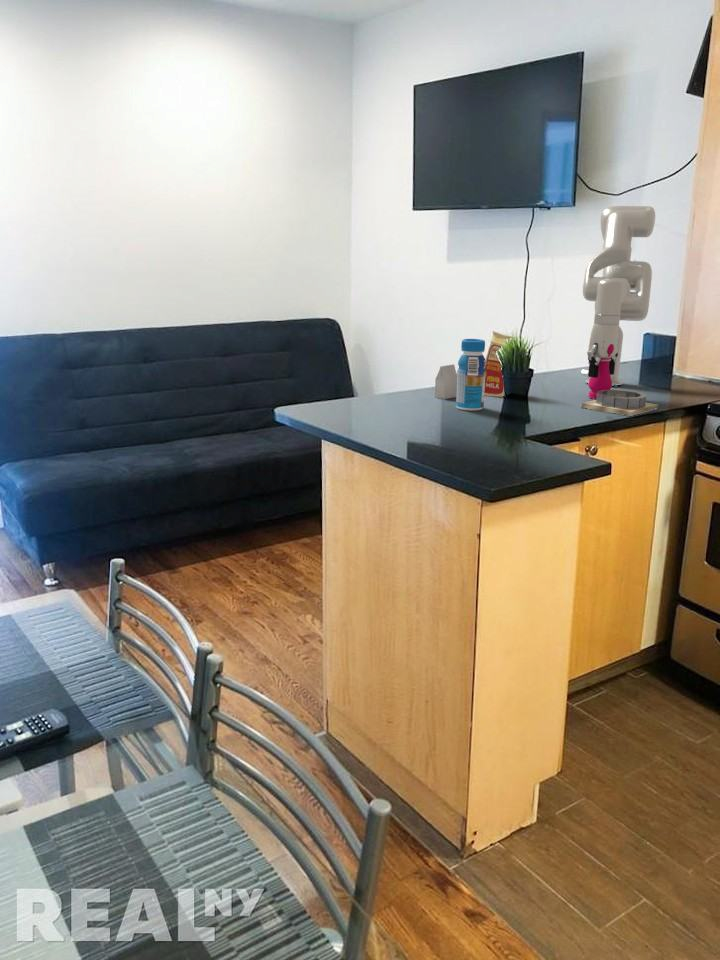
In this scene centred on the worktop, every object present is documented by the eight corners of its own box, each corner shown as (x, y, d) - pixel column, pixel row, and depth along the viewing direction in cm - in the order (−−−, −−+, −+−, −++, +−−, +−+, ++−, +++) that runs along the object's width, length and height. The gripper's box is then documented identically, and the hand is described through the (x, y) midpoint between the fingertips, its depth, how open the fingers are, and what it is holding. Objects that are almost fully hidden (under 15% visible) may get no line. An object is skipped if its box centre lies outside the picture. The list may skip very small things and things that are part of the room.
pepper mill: (598, 401, 254) (604, 336, 248) (582, 397, 260) (588, 333, 254) (615, 399, 257) (622, 335, 251) (599, 395, 263) (605, 333, 258)
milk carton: (479, 395, 260) (483, 332, 254) (486, 390, 268) (490, 329, 263) (507, 397, 257) (512, 333, 251) (513, 392, 265) (518, 330, 259)
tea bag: (457, 396, 257) (458, 365, 255) (444, 399, 253) (445, 367, 250) (447, 394, 260) (449, 363, 257) (434, 397, 255) (436, 365, 252)
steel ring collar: (587, 403, 243) (587, 393, 242) (611, 397, 252) (612, 387, 251) (630, 410, 233) (631, 400, 232) (653, 404, 242) (654, 394, 242)
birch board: (581, 407, 243) (582, 402, 243) (609, 401, 254) (610, 396, 253) (630, 416, 232) (631, 411, 232) (657, 409, 243) (658, 404, 242)
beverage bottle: (449, 408, 240) (452, 339, 234) (466, 404, 246) (470, 337, 240) (472, 412, 234) (477, 342, 228) (489, 408, 240) (494, 340, 234)
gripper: (610, 317, 260) (604, 371, 265) (580, 320, 248) (575, 376, 253) (632, 319, 255) (625, 374, 260) (602, 323, 243) (597, 380, 248)
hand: (601, 375), depth 257 cm, fingers open, 9 cm apart
